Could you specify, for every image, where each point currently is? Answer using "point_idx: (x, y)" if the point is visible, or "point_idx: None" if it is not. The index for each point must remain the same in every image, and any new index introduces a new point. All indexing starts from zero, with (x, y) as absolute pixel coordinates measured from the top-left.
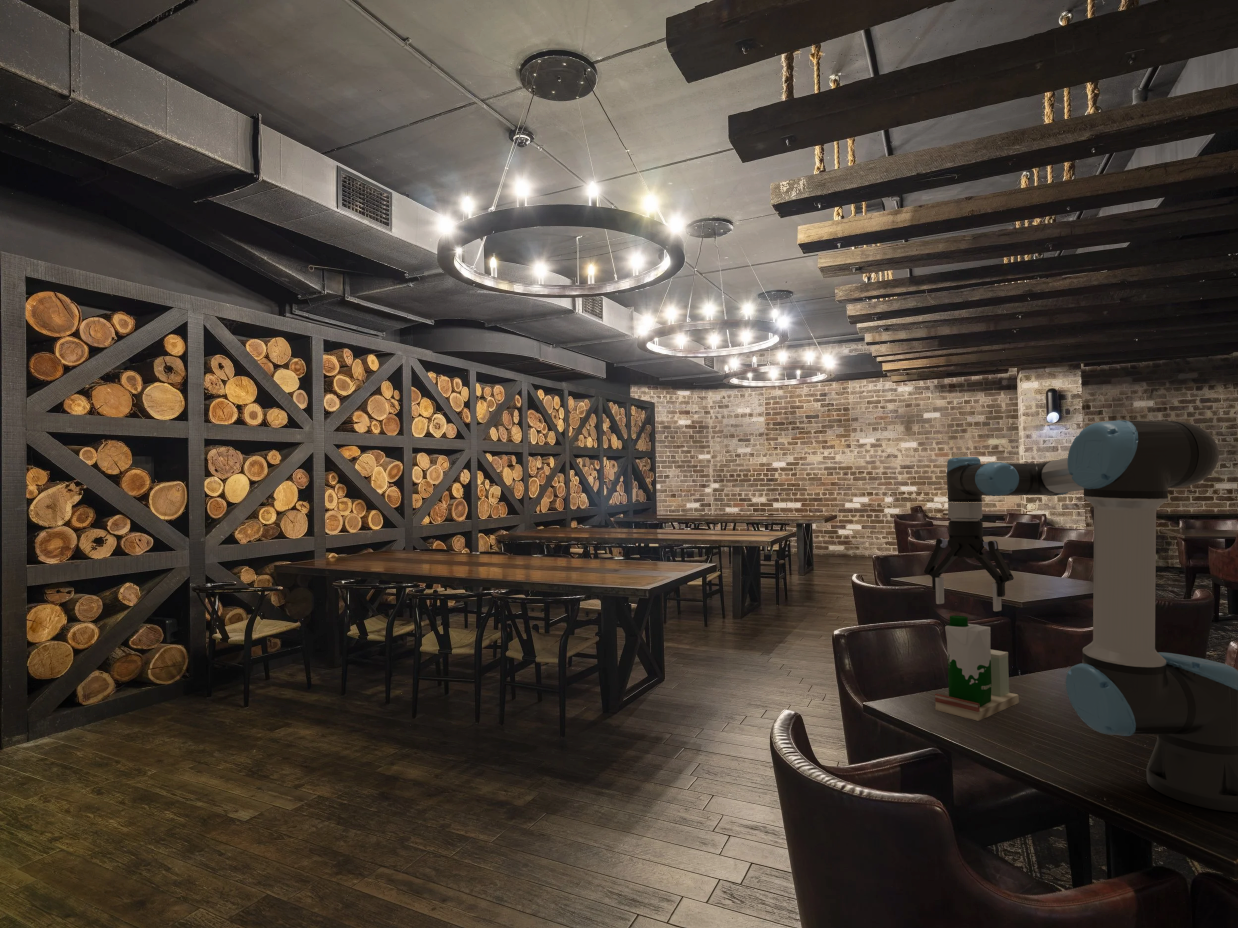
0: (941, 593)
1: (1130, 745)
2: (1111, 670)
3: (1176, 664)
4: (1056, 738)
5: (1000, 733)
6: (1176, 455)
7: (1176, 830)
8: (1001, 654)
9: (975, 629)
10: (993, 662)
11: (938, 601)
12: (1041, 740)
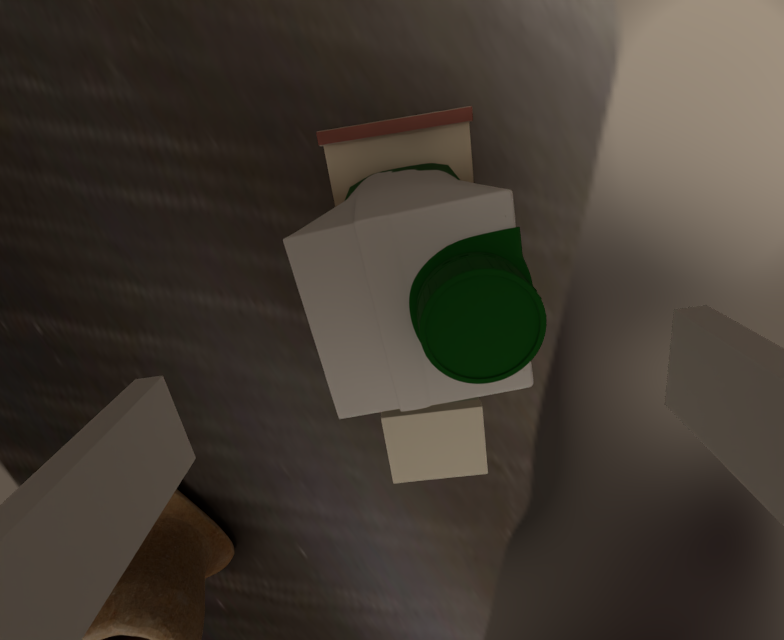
0: (739, 419)
1: (44, 299)
2: None
3: None
4: (133, 187)
5: (217, 76)
6: None
7: None
8: (385, 436)
9: (331, 276)
10: None
11: (696, 320)
12: (133, 130)
